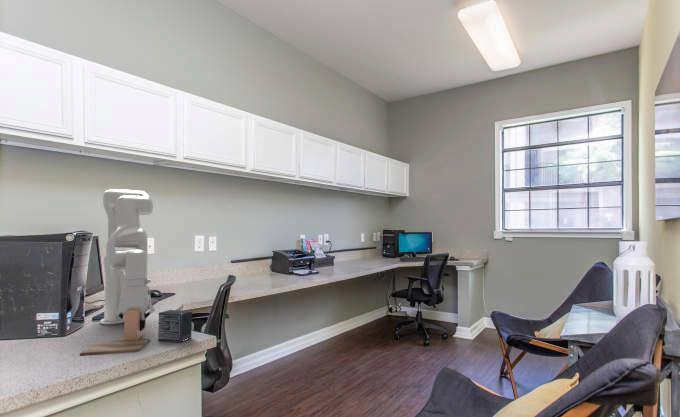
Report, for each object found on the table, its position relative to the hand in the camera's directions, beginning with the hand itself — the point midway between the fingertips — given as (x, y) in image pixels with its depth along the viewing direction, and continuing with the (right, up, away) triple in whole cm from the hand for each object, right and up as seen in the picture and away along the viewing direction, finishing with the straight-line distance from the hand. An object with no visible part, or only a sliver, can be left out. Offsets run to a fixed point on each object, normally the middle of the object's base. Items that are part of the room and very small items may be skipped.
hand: (134, 329), depth 141 cm
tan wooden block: (0, -3, 0) cm, 3 cm away
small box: (+17, -3, -3) cm, 17 cm away
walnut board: (+1, -2, -12) cm, 12 cm away
